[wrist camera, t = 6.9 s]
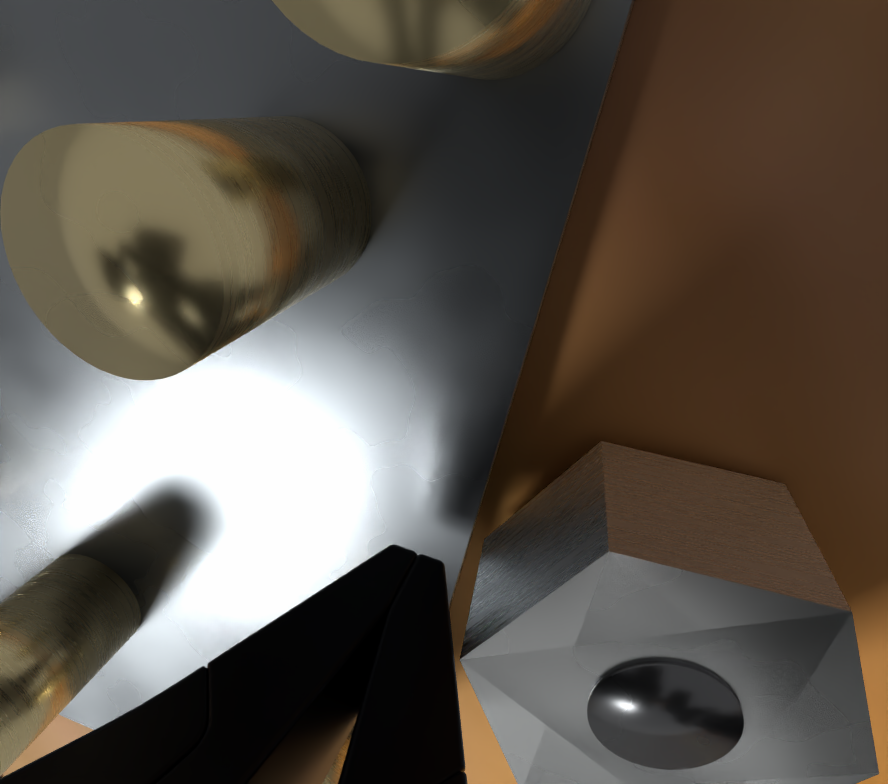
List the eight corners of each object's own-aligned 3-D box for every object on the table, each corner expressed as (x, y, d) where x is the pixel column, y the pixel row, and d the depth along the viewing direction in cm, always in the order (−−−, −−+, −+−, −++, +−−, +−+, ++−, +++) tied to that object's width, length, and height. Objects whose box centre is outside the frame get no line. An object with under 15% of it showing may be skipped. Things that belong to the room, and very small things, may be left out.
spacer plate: (682, -156, 6) (742, -467, 3) (383, 825, 15) (304, 1054, 11) (-371, -349, 8) (-1093, -674, 5) (-113, 611, 17) (-313, 747, 13)
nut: (880, 506, 9) (984, 649, 6) (756, 715, 11) (803, 878, 8) (513, 419, 9) (493, 526, 7) (461, 635, 11) (431, 771, 9)
